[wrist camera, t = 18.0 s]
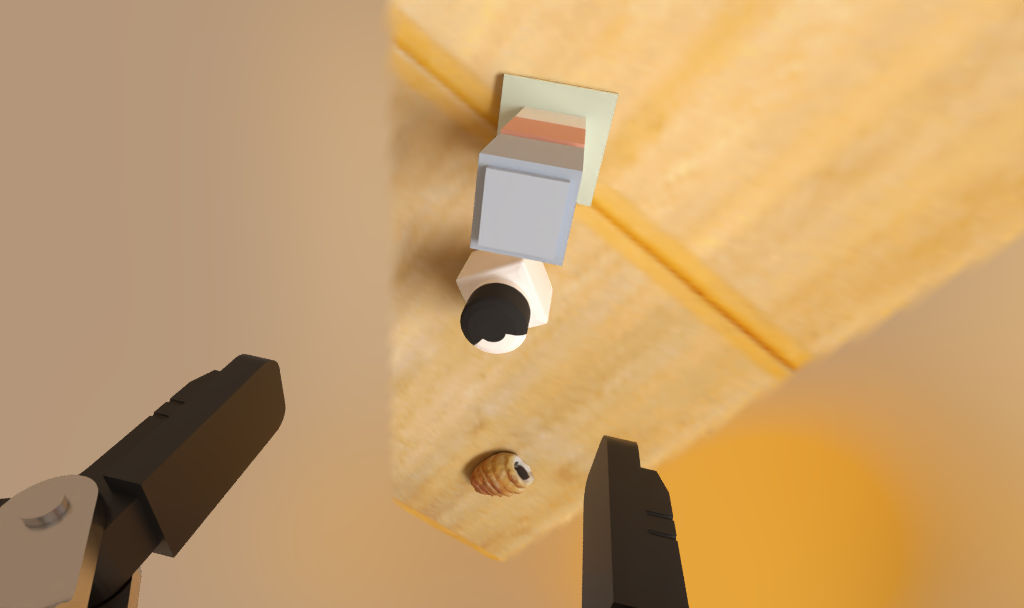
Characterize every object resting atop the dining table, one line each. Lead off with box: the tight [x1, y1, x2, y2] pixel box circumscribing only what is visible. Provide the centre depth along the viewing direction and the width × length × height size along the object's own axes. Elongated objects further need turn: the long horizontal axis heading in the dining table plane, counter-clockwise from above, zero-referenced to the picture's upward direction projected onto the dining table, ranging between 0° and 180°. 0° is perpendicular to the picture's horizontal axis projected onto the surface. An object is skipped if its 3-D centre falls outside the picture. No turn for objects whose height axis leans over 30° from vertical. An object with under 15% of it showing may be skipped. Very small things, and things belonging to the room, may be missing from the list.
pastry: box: [471, 452, 534, 497], centre depth 64 cm, size 9×7×4 cm
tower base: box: [497, 73, 618, 206], centre depth 38 cm, size 10×10×7 cm
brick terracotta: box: [501, 117, 586, 148], centre depth 32 cm, size 6×6×7 cm
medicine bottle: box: [456, 250, 553, 353], centre depth 44 cm, size 7×7×12 cm
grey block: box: [470, 133, 584, 266], centre depth 27 cm, size 6×6×7 cm
